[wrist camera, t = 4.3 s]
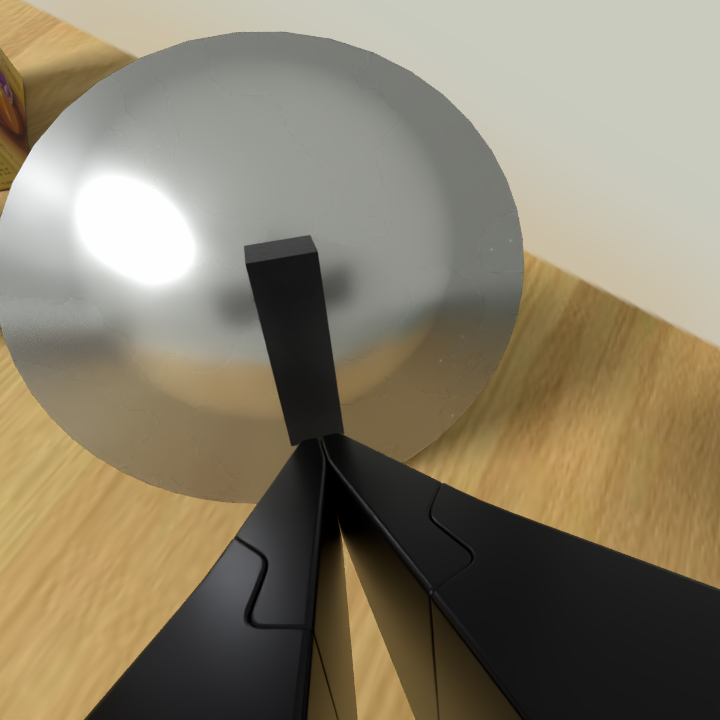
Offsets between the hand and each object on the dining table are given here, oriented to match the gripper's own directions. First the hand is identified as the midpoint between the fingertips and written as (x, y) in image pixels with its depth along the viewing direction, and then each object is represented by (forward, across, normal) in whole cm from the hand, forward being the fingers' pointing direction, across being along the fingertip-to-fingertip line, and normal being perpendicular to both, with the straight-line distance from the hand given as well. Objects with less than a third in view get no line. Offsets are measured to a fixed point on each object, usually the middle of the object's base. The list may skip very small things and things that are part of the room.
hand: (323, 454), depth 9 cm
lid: (+4, 0, +2) cm, 4 cm away
